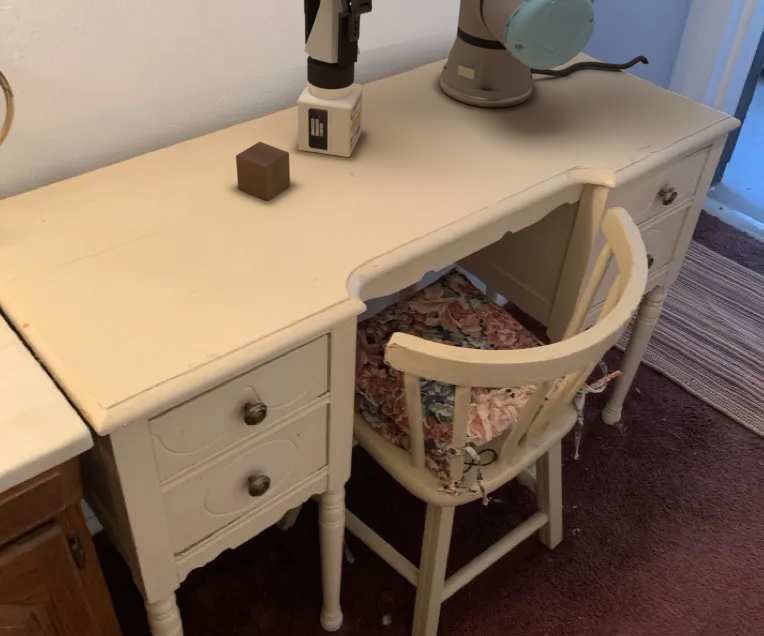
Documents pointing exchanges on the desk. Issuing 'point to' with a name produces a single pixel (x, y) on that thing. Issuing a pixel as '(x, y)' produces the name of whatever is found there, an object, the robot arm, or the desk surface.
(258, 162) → the walnut block
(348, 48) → the robot arm
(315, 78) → the container
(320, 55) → the flask
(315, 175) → the desk surface
